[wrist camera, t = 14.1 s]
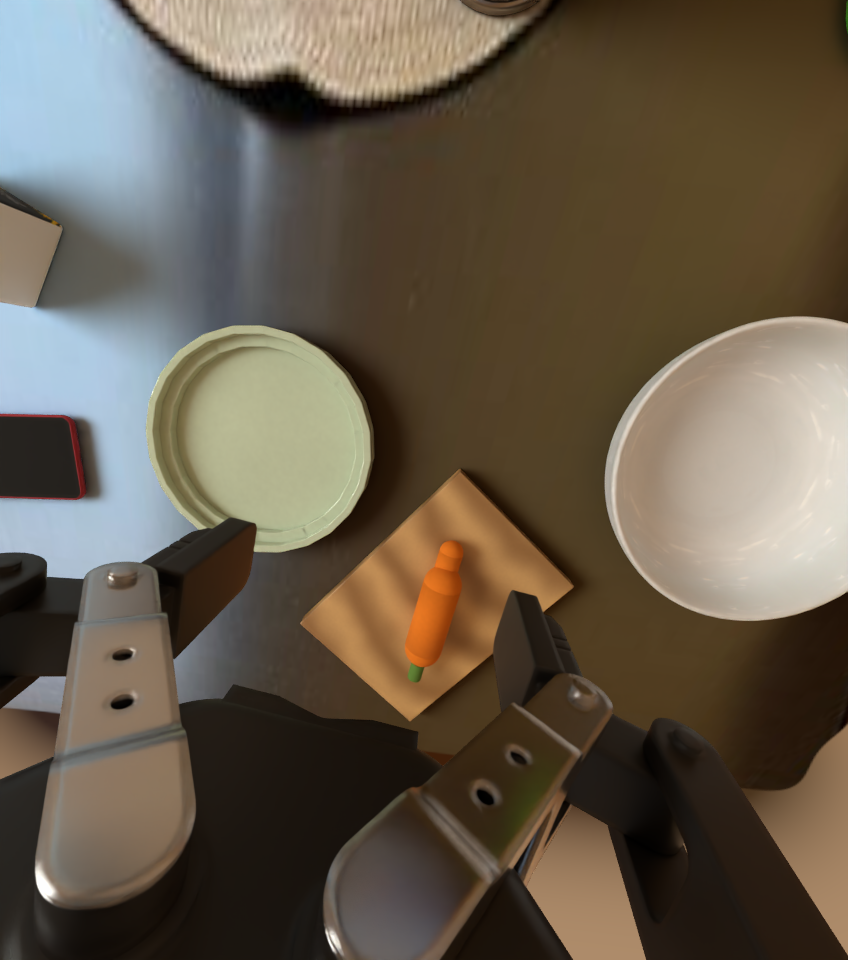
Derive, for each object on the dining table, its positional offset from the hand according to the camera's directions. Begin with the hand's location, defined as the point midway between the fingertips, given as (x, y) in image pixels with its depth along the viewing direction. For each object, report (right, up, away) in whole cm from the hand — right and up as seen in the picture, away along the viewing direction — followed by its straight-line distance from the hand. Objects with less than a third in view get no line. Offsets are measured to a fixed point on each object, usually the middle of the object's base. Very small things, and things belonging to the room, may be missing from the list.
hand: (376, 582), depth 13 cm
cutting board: (+2, -8, +26) cm, 27 cm away
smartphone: (-36, +5, +25) cm, 44 cm away
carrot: (+2, -8, +24) cm, 26 cm away
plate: (-12, +6, +23) cm, 27 cm away
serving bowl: (+25, +5, +22) cm, 34 cm away
